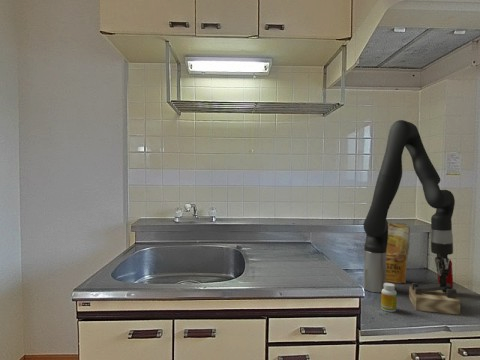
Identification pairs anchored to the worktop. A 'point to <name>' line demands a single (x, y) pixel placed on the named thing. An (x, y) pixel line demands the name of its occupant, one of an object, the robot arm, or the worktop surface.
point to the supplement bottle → (388, 297)
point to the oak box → (435, 300)
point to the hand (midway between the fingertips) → (442, 285)
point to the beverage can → (448, 278)
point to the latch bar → (433, 287)
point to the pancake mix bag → (397, 252)
